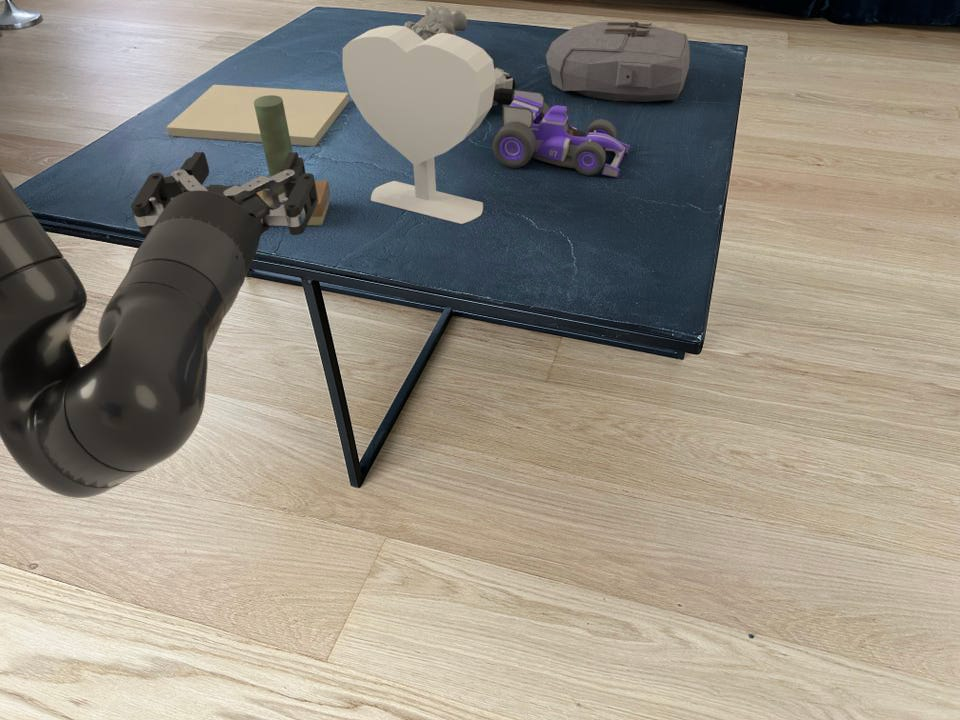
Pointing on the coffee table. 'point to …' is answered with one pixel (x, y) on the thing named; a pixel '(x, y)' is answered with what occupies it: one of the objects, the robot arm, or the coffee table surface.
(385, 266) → the coffee table surface
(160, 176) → the robot arm
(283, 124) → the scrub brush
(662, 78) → the soft grey pack
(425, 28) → the elephant statuette
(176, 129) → the tile board
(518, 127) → the toy race car
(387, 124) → the heart sculpture
